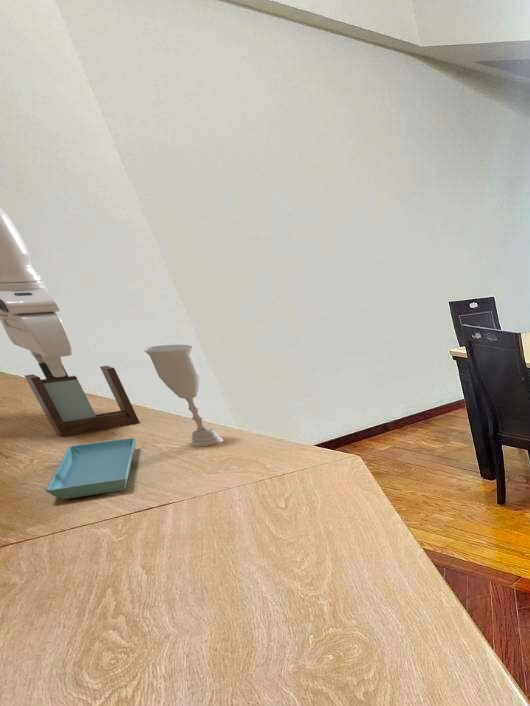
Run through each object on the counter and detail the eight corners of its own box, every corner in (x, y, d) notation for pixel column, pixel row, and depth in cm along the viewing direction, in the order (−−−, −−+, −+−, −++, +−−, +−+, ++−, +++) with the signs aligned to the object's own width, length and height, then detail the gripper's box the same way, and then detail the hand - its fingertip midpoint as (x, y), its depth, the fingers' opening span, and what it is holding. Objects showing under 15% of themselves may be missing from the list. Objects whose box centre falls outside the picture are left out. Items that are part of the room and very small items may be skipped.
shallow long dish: (73, 456, 108) (66, 443, 106) (140, 447, 113) (134, 435, 112) (52, 505, 90) (43, 490, 89) (133, 492, 95) (126, 478, 94)
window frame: (62, 437, 116) (30, 378, 111) (55, 433, 118) (24, 375, 112) (140, 423, 125) (114, 367, 120) (133, 420, 127) (107, 365, 121)
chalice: (183, 440, 117) (141, 346, 108) (225, 434, 121) (189, 343, 113) (187, 450, 113) (145, 353, 104) (231, 443, 117) (194, 349, 108)
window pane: (65, 426, 117) (32, 364, 111) (62, 425, 118) (30, 363, 112) (98, 420, 121) (68, 360, 115) (96, 419, 121) (66, 360, 115)
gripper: (-27, 294, 110) (14, 369, 117) (9, 304, 101) (51, 385, 108) (21, 292, 115) (59, 365, 121) (60, 302, 106) (97, 379, 113)
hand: (55, 375), depth 115 cm, fingers closed
